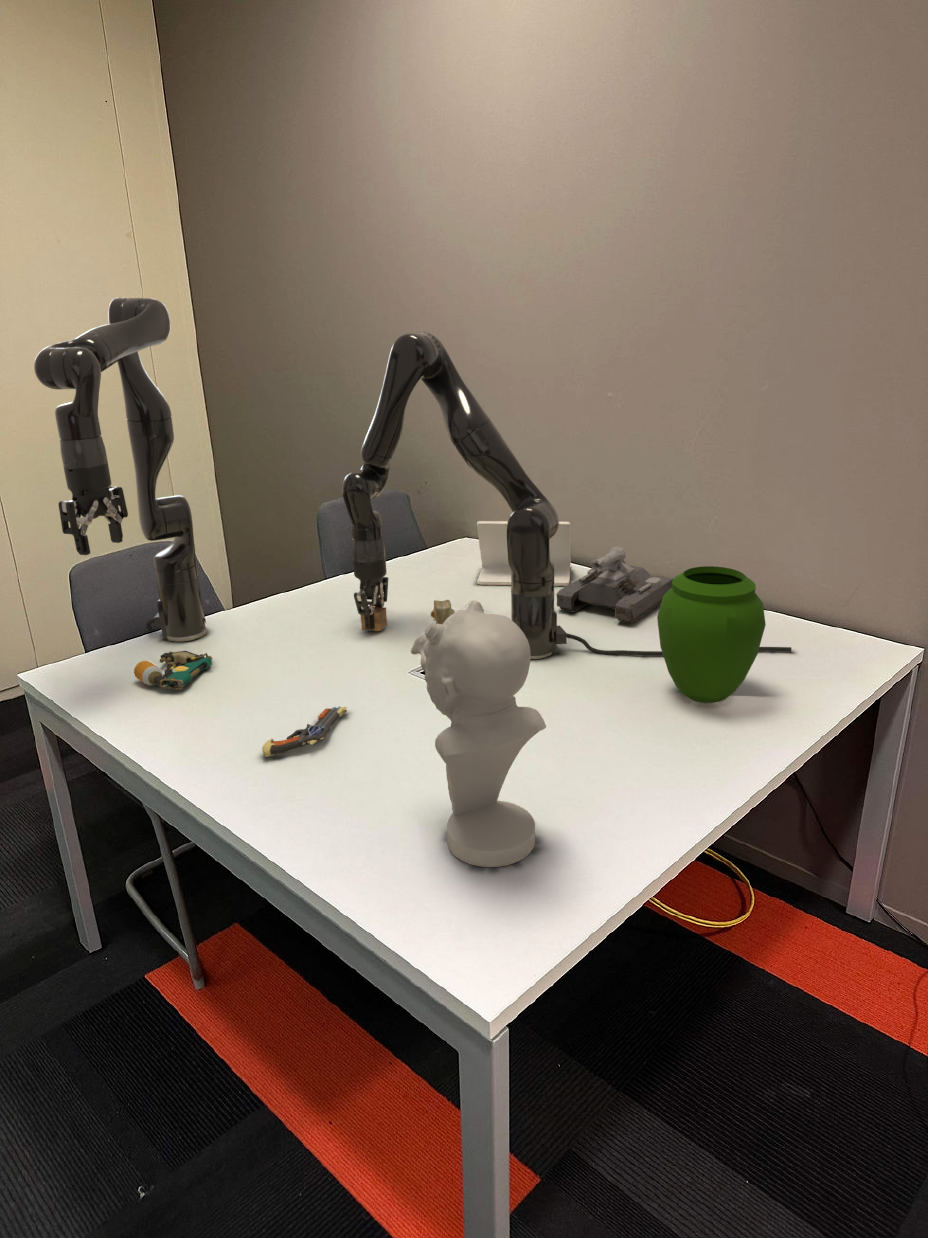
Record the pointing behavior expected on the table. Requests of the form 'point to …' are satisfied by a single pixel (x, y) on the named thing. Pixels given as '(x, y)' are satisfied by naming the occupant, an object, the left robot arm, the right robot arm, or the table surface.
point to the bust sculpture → (481, 729)
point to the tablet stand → (497, 558)
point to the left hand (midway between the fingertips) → (101, 548)
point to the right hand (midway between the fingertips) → (374, 625)
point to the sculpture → (441, 611)
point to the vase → (710, 631)
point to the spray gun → (172, 669)
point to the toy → (615, 588)
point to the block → (377, 619)
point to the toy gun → (305, 733)
